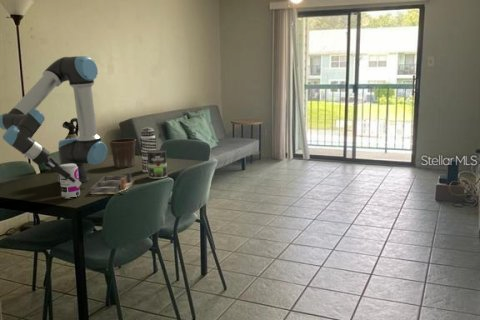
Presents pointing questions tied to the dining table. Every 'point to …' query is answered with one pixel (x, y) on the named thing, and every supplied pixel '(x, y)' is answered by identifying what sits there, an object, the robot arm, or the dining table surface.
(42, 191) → the dining table surface
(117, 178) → the beige shallow tray
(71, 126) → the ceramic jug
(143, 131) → the decorative candle
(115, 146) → the plant pot
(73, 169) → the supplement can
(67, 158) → the robot arm
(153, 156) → the coffee can
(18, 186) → the dining table surface
